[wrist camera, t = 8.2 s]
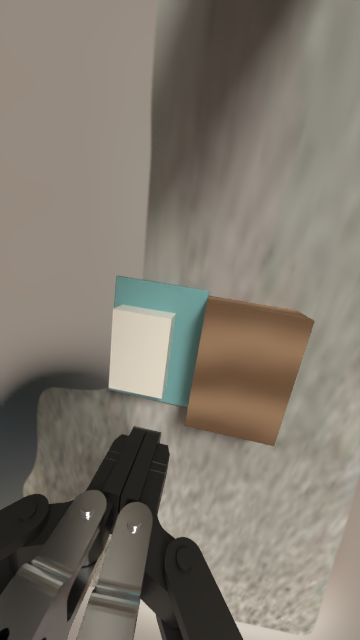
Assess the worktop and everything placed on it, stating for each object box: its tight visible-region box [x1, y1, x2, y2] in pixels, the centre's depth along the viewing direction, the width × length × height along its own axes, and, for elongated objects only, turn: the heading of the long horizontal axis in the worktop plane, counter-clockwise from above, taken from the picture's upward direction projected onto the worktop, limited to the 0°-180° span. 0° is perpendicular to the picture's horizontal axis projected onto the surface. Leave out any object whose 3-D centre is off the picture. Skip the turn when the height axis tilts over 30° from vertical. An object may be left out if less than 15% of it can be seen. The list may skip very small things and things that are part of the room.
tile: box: [109, 305, 176, 399], centre depth 24 cm, size 9×6×2 cm, turn 172°
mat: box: [108, 276, 209, 408], centre depth 25 cm, size 14×10×1 cm
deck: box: [185, 296, 314, 446], centre depth 23 cm, size 13×9×4 cm
